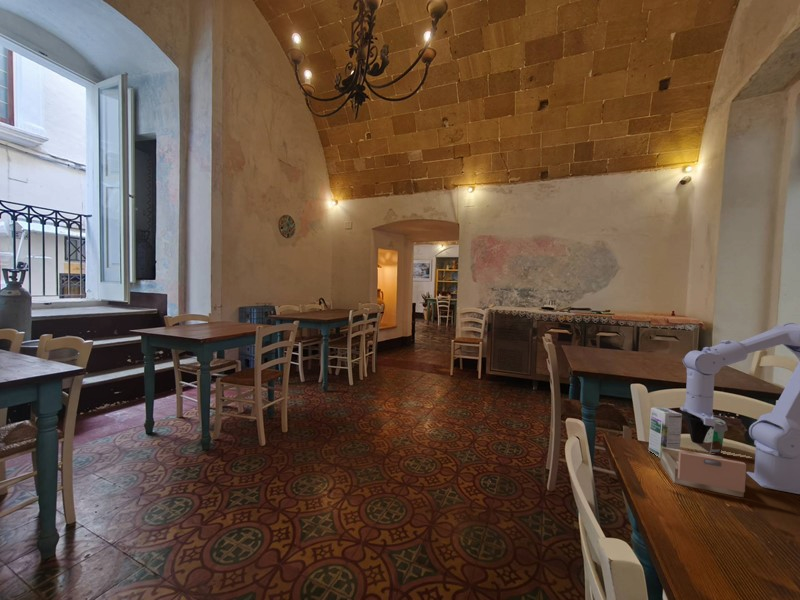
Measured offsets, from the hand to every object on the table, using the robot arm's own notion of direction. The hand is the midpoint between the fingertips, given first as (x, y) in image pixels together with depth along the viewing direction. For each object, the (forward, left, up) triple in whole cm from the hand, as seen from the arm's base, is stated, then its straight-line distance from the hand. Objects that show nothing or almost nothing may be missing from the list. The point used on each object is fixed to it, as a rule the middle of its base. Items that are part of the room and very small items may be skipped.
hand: (696, 442), depth 95 cm
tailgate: (0, +9, -7) cm, 12 cm away
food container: (-12, -24, -10) cm, 28 cm away
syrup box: (+5, -10, -10) cm, 15 cm away
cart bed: (0, +2, -9) cm, 10 cm away
